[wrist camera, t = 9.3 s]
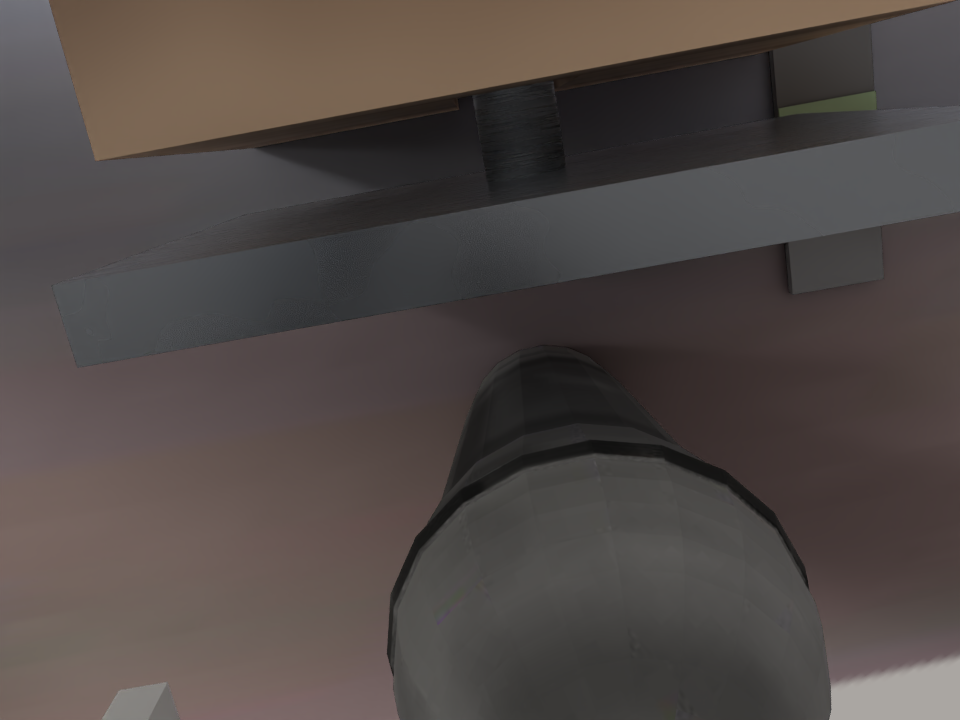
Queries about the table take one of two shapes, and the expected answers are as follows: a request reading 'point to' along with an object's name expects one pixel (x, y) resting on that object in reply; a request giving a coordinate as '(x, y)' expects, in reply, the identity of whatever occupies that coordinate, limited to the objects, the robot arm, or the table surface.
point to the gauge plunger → (519, 223)
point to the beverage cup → (597, 571)
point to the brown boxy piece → (444, 70)
